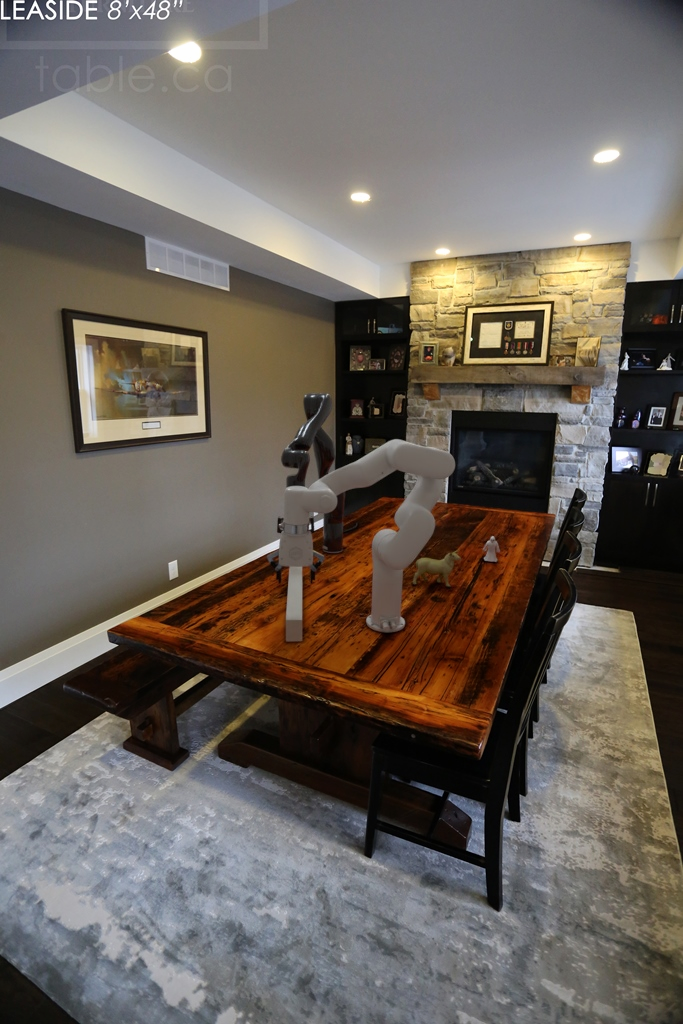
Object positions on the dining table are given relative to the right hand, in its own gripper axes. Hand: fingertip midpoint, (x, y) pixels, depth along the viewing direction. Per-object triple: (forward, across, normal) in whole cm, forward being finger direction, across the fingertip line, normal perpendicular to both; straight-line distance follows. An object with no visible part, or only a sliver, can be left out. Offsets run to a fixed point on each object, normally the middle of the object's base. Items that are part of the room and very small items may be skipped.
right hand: (295, 582), depth 152 cm
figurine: (+15, +86, +65) cm, 109 cm away
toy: (+16, +54, +37) cm, 67 cm away
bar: (+17, 0, +20) cm, 26 cm away
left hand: (+1, -1, +42) cm, 42 cm away
